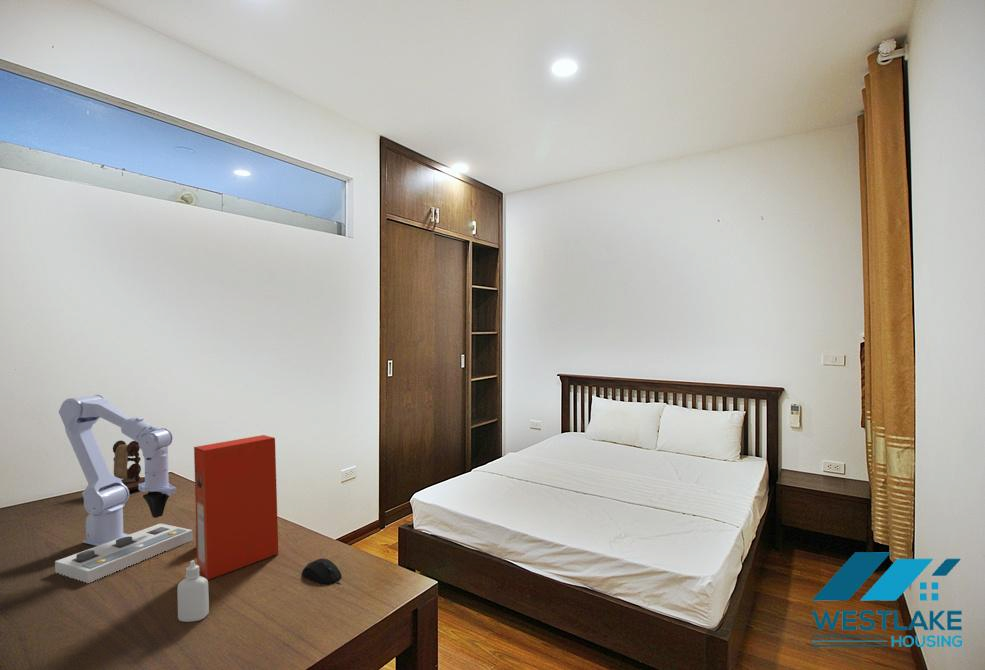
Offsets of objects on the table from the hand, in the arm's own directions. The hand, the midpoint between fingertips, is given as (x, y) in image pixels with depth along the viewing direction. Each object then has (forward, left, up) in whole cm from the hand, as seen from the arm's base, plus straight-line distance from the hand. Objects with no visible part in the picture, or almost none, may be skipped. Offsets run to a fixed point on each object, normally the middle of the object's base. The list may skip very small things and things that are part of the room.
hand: (157, 516), depth 139 cm
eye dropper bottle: (+49, -22, -8) cm, 54 cm away
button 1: (0, -18, -5) cm, 19 cm away
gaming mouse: (+63, +1, -8) cm, 64 cm away
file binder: (+36, -1, -8) cm, 36 cm away
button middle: (0, -9, -5) cm, 10 cm away
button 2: (0, 0, -6) cm, 6 cm away
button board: (+2, -9, -7) cm, 12 cm away
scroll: (-64, +27, -8) cm, 70 cm away
